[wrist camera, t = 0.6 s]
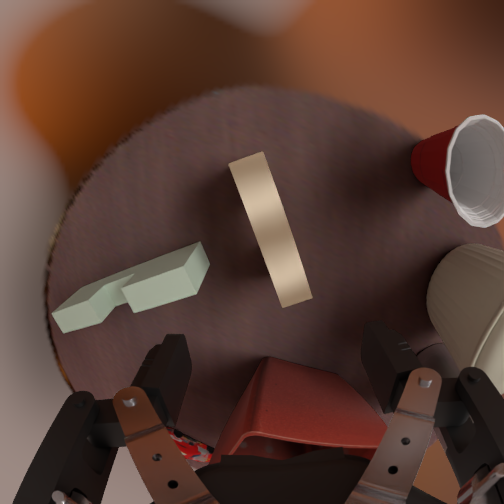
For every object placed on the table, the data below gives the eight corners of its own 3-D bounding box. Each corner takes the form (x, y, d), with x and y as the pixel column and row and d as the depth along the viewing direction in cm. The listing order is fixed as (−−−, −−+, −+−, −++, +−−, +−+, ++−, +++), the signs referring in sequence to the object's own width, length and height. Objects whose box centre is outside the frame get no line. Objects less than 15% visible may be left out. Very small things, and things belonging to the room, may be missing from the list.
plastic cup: (375, 166, 30) (431, 173, 18) (419, 104, 27) (480, 90, 15) (429, 222, 32) (487, 252, 20) (468, 163, 29) (529, 173, 17)
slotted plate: (301, 267, 34) (312, 298, 26) (277, 275, 34) (282, 307, 27) (261, 153, 30) (262, 151, 22) (236, 162, 30) (228, 163, 23)
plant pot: (251, 328, 37) (246, 432, 21) (368, 361, 39) (405, 446, 23) (211, 410, 43) (197, 493, 27) (310, 432, 44) (320, 507, 28)
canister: (384, 292, 35) (468, 403, 15) (466, 197, 30) (583, 242, 10) (437, 350, 38) (497, 437, 18) (503, 274, 34) (582, 333, 14)
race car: (221, 449, 47) (220, 465, 44) (206, 457, 49) (204, 471, 45) (167, 422, 45) (162, 437, 41) (154, 430, 46) (149, 445, 42)
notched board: (200, 241, 33) (183, 266, 26) (210, 263, 34) (196, 294, 26) (81, 287, 36) (51, 313, 28) (90, 304, 37) (63, 333, 29)
